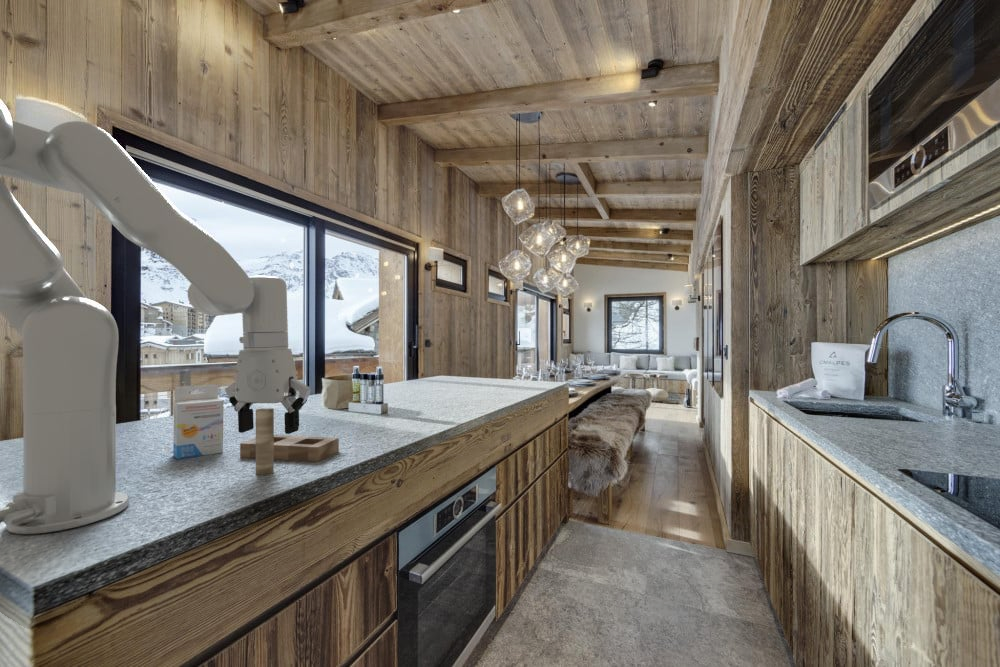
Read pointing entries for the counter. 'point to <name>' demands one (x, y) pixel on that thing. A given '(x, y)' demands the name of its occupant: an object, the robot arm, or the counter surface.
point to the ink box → (197, 422)
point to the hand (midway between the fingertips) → (268, 431)
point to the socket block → (295, 448)
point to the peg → (264, 441)
